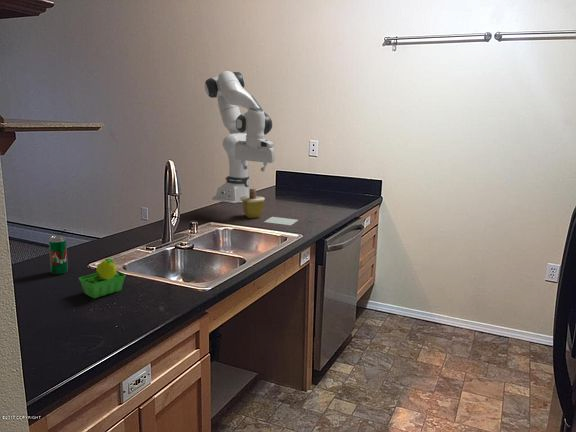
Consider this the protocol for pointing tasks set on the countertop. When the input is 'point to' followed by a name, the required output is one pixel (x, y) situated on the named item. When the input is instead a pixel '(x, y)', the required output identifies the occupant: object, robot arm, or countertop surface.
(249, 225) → the countertop surface
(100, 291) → the fruit basket
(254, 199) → the lid
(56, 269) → the soda can
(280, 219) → the mat
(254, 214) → the flower pot
